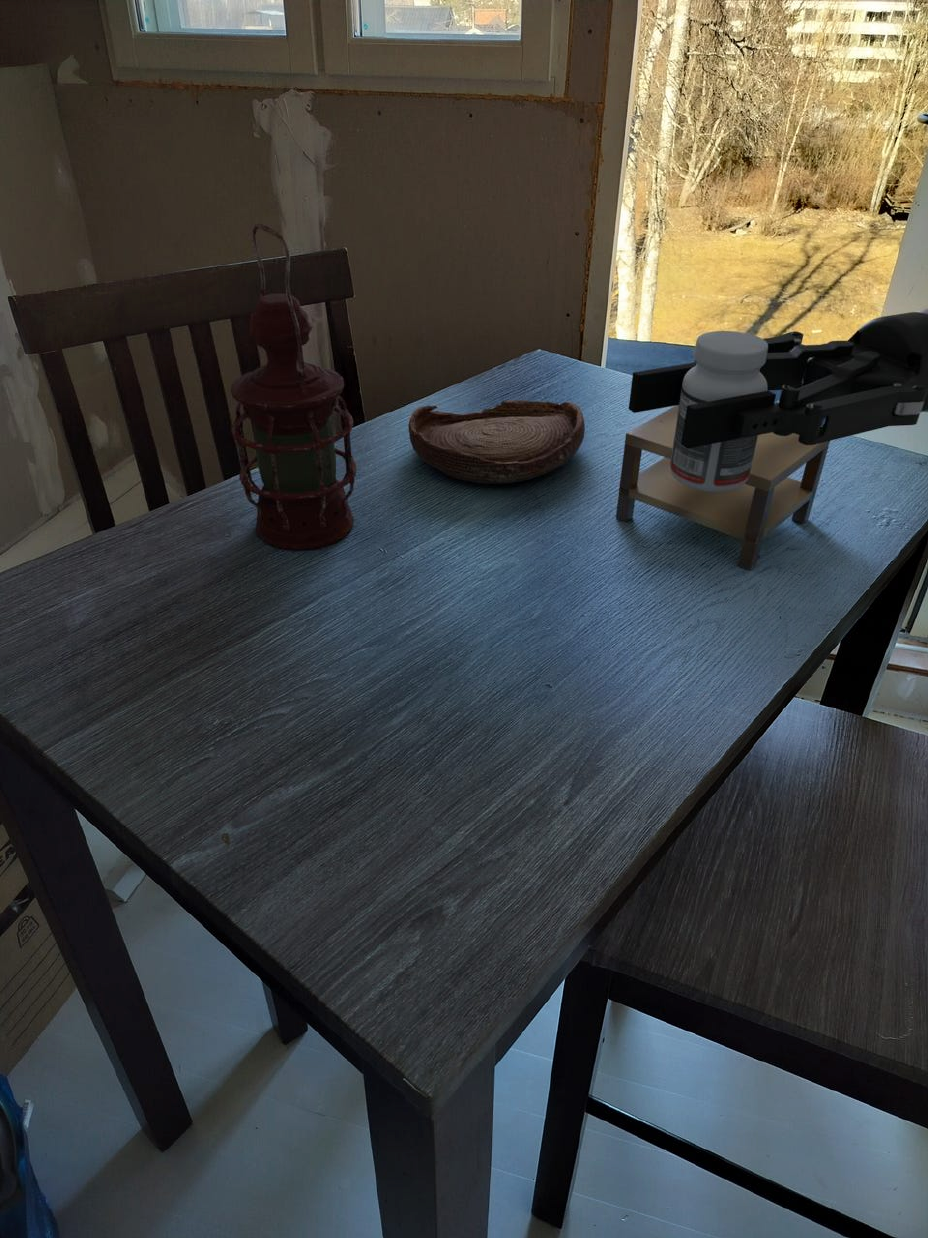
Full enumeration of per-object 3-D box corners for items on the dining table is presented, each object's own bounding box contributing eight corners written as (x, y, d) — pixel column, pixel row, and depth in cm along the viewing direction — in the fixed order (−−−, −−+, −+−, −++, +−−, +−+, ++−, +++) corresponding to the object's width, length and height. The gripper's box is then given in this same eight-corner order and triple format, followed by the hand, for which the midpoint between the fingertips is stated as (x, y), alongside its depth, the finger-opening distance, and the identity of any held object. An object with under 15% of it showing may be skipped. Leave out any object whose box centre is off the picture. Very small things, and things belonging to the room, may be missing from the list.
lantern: (381, 533, 91) (362, 231, 73) (275, 568, 85) (226, 249, 68) (330, 489, 99) (301, 207, 81) (230, 517, 93) (176, 222, 76)
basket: (526, 408, 118) (528, 373, 116) (620, 463, 105) (625, 425, 102) (382, 444, 109) (380, 407, 106) (465, 509, 95) (465, 469, 92)
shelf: (808, 519, 94) (832, 434, 88) (749, 570, 85) (771, 480, 79) (680, 475, 102) (693, 395, 96) (615, 518, 94) (625, 432, 88)
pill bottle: (744, 462, 64) (772, 330, 59) (751, 497, 60) (783, 358, 54) (667, 456, 65) (687, 325, 59) (669, 490, 61) (691, 353, 55)
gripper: (1003, 457, 60) (736, 521, 53) (817, 370, 74) (585, 411, 67) (1046, 352, 56) (761, 406, 48) (840, 281, 70) (594, 314, 62)
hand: (659, 409), depth 57 cm, fingers closed on pill bottle, 6 cm apart
